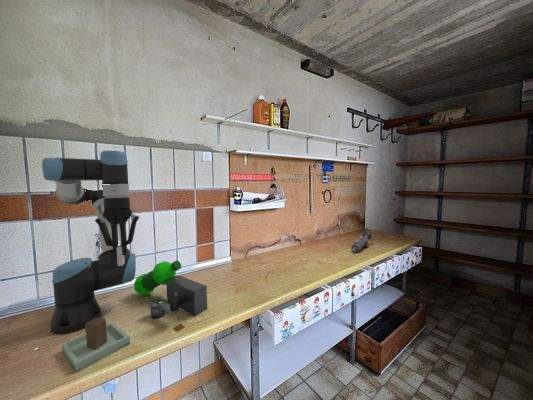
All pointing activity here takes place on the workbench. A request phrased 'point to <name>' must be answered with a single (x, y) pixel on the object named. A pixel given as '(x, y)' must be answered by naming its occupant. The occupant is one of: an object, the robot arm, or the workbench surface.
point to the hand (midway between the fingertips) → (121, 264)
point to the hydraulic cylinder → (361, 242)
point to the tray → (86, 356)
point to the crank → (165, 306)
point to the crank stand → (184, 297)
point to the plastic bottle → (156, 277)
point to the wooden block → (96, 332)
